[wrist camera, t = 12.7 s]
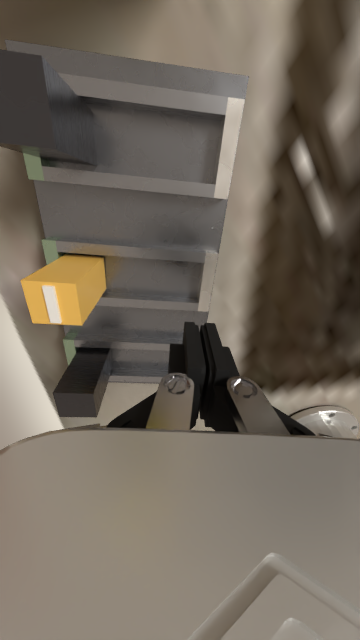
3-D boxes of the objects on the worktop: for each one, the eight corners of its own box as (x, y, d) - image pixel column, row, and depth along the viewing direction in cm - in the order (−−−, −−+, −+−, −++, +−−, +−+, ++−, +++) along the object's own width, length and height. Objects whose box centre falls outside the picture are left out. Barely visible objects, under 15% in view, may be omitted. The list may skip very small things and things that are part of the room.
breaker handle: (106, 288, 19) (81, 327, 14) (71, 286, 19) (30, 324, 14) (103, 257, 18) (74, 285, 12) (65, 254, 18) (18, 281, 12)
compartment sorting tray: (194, 375, 27) (203, 436, 20) (79, 371, 26) (47, 435, 19) (241, 87, 15) (308, -11, 8) (20, 54, 13) (-137, -96, 7)
